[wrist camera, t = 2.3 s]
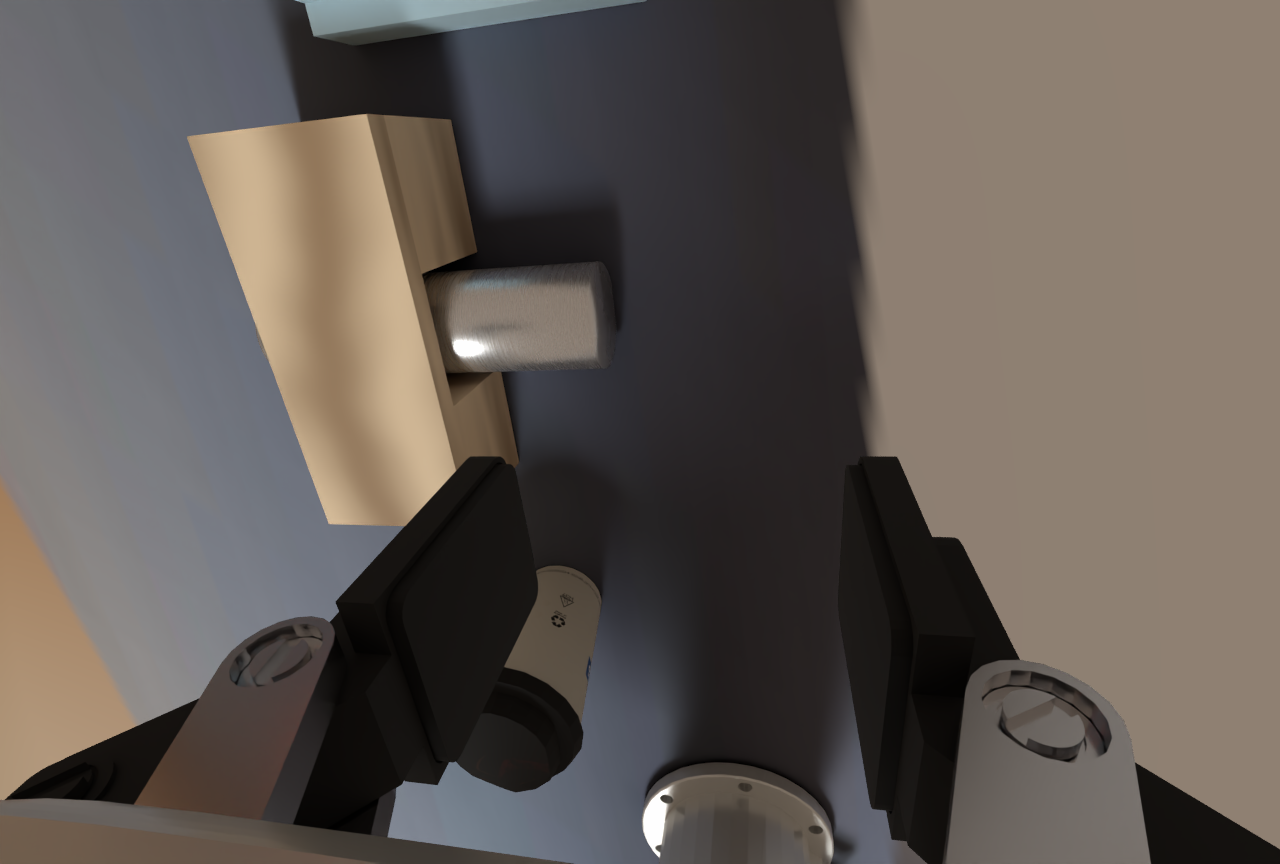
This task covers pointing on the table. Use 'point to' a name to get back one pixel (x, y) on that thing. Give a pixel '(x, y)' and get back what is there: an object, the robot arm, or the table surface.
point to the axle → (522, 318)
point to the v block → (428, 16)
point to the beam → (357, 301)
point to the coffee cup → (539, 688)
